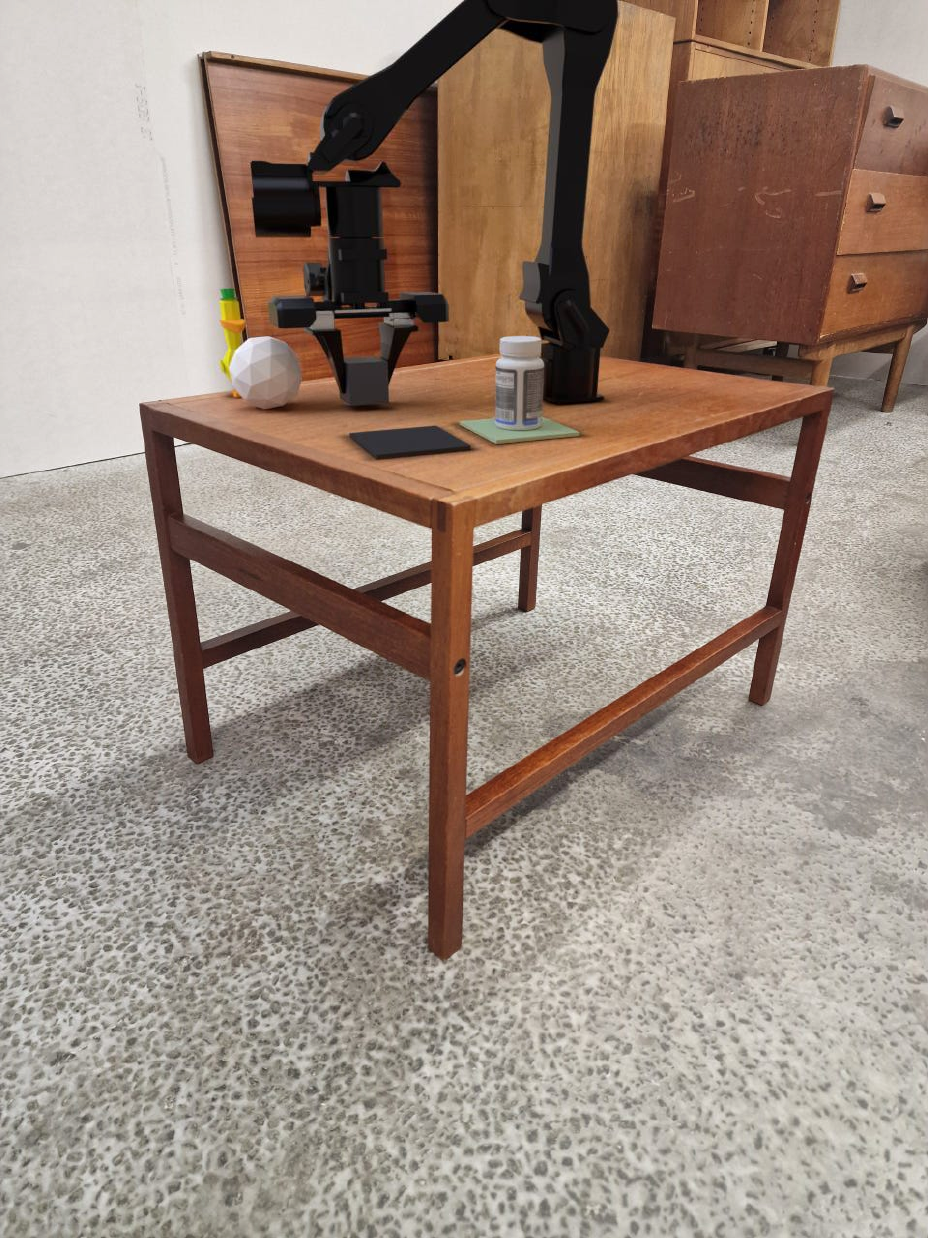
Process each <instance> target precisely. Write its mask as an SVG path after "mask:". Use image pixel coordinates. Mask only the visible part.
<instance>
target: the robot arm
mask: <svg viewBox="0 0 928 1238" xmlns="http://www.w3.org/2000/svg"><path fill="white" fill-rule="evenodd" d="M618 18H619V2H618V0H462V1H461V2H460V3H459V4H458V5H457V6H456V7H455V8H453V9H452V10H451V11H450V12H449V13H448V14H447V15H445V17H443V18H441V20H440V21H439V22H438V23H436V25H434V26H433V27H432V28H431V29H430V30H429V31H427V32H426V33H425V34H424V35H423V36H422V37H421V38H419V40H417V41H416V42H415V43H414V44H413V45H412V46H411V47H410V48H408V49H407V50H406V51H405V52H404V53H402V55H401V56H399V57H398V58H397V59H396V60H395V61H394V62H393V63H392V64H390V65H388V66H386V67H384V68H383V69H381V70H379V71H377V72H375V73H373V74H371V75H369V76H368V77H366V78H364V79H361V80H360V81H358V82H357V83H355V84H353V85H351V86H350V87H348V88H347V89H345V90H343V91H341V92H340V93H338V94H336V95H335V96H334V97H333V98H331V100H330V101H329V103H328V104H326V105H327V106H326V107H325V110H324V111H322V115H321V117H320V121H319V131H318V132H319V135H320V136H319V137H320V140H319V143H317V146H316V148H315V149H314V151H309V153H308V154H307V157H306V158H307V162H306V163H281V162H280V163H279V162H278V163H276V162H275V163H274V162H269V161H266V160H251V161H250V163H249V165H250V176H251V184H252V185H251V186H252V193H253V196H251V204H252V214H253V215H252V216H253V225H254V234H255V235H254V236H255V238H256V239H257V238H258V239H259V238H260V239H261V238H264V239H265V238H266V239H267V238H270V239H271V238H273V239H275V238H280V239H281V238H283V239H285V238H286V239H288V238H291V239H292V238H302V239H304V238H305V239H306V238H308V239H310V238H312V228H321V227H322V207H321V206H322V205H321V195H320V194H321V193H320V189H324V192H325V195H324V196H325V208H326V223H327V237H328V238H327V240H328V242H327V243H328V248H327V254H326V256H327V263H326V266H325V267H323V264H322V263H321V262H304V263H303V265H302V275H303V286H304V293H305V294H293V295H292V294H291V295H289V294H288V295H272V296H271V297H270V299H269V300H268V302H267V312H268V323H269V325H272V326H274V327H276V328H277V329H302V330H303V332H305V333H307V334H309V335H311V336H314V337H315V339H316V340H317V342H318V344H319V345H320V347H321V349H322V351H323V353H324V355H325V357H326V359H327V362H328V365H329V367H330V370H331V373H332V375H333V377H334V380H335V383H336V385H337V388H338V391H339V390H340V392H341V393H342V394H344V393H345V392H346V375H345V365H344V358H345V355H344V347H343V337H342V330H341V329H339V328H337V327H336V324H335V322H336V321H335V320H349V319H350V320H351V319H352V320H353V319H371V318H372V319H374V318H375V319H376V318H377V319H378V318H383V321H379V322H378V321H377V324H378V329H379V330H378V331H379V335H380V356H379V358H381V359H383V360H386V361H387V362H388V387H389V386H390V383H391V381H392V377H393V375H394V372H395V369H396V366H397V364H398V361H399V359H400V356H401V354H402V351H403V350H404V347H405V345H406V343H407V341H408V340H409V338H410V335H411V334H412V333H415V332H419V325H416V324H415V320H416V318H417V319H418V320H419V321H420V322H421V323H424V324H426V323H427V324H428V323H429V324H430V323H447V322H450V313H449V311H450V309H449V308H450V305H449V302H448V299H447V298H446V296H444V294H442V293H438V292H433V291H407V292H405V291H404V292H403V291H402V292H400V294H399V298H396V299H394V298H393V299H389V298H390V297H389V291H387V290H386V271H385V269H386V268H385V261H387V260H388V249H387V248H385V243H384V242H385V241H384V219H383V218H384V217H383V216H384V215H383V214H384V213H383V192H382V190H395V189H399V188H400V187H401V186H402V181H401V180H400V178H398V177H397V176H396V175H395V174H394V173H393V171H391V169H390V168H389V166H388V164H387V162H386V161H381V162H379V163H378V165H377V166H376V168H375V169H346V172H345V180H314V176H327V174H329V173H330V172H331V171H332V170H333V169H334V168H336V167H337V166H338V165H340V164H345V165H356V164H359V163H361V162H363V161H365V160H366V159H368V158H369V157H370V156H372V155H373V154H375V152H376V151H377V150H378V149H379V148H380V147H381V145H382V144H383V142H384V141H385V140H386V138H387V137H388V136H389V134H390V133H391V132H392V131H393V129H394V128H395V127H396V125H397V124H398V122H400V120H401V119H402V117H403V116H404V114H405V113H406V112H407V110H408V109H409V108H410V107H411V106H412V104H413V103H414V101H415V100H416V99H418V98H419V97H420V96H421V95H422V94H423V93H424V92H425V91H427V90H428V89H429V88H430V87H431V86H433V84H435V83H436V81H437V82H438V80H439V79H440V78H441V77H442V76H444V75H445V74H446V73H447V72H448V71H449V70H450V69H451V68H453V67H454V66H455V65H456V64H458V62H460V61H461V60H463V58H464V57H465V56H466V55H467V54H468V53H470V52H471V51H472V50H474V48H475V47H476V46H478V44H480V43H481V42H482V41H483V40H485V38H487V37H488V36H489V35H490V34H491V33H492V32H493V31H495V30H500V31H504V32H506V33H508V34H510V35H513V36H515V37H518V38H520V39H522V40H525V41H527V42H531V43H534V44H539V45H541V46H542V47H541V48H542V59H543V60H542V61H543V67H544V70H545V75H546V79H547V82H548V86H549V90H550V108H549V111H550V112H549V122H548V123H549V125H548V138H547V139H548V140H547V151H546V152H547V154H546V167H545V168H546V169H545V182H544V184H545V185H544V198H543V199H544V200H543V213H542V228H541V240H540V241H541V242H540V246H539V249H538V252H537V254H536V256H535V259H534V261H527V260H523V261H522V264H521V272H522V288H521V291H520V295H519V296H518V299H519V300H521V301H524V302H523V303H524V311H525V314H526V316H527V317H528V318H529V321H531V322H532V323H533V324H534V325H536V326H537V330H538V333H539V338H541V341H544V343H543V342H541V351H540V352H541V354H540V356H539V358H540V359H542V360H543V362H544V383H543V400H546V401H548V402H551V403H554V404H571V403H581V402H582V403H584V402H595V401H605V395H604V394H600V393H598V390H599V378H600V377H599V376H600V364H601V363H600V362H601V349H603V348H604V346H605V344H606V341H607V339H608V336H609V333H610V328H609V327H608V325H607V324H606V323H605V321H603V319H602V318H601V317H600V316H599V315H598V314H597V312H596V311H595V310H594V309H593V308H592V300H591V299H592V298H591V284H590V281H591V280H590V273H589V272H590V271H589V268H588V264H587V261H586V257H585V252H584V248H583V238H584V237H583V236H584V227H585V215H586V203H587V191H588V181H589V168H590V157H591V156H590V155H591V146H592V133H593V121H594V111H595V100H596V93H597V89H598V86H599V83H600V81H601V78H602V75H603V73H604V70H605V68H606V65H607V62H608V60H609V58H610V55H611V51H612V45H613V41H614V37H615V34H616V29H617V24H618V20H619V19H618ZM314 297H321V300H322V301H315V299H314ZM366 304H376V305H366ZM545 341H546V342H545Z"/></svg>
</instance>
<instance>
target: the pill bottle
mask: <svg viewBox="0 0 928 1238" xmlns="http://www.w3.org/2000/svg"><path fill="white" fill-rule="evenodd" d="M541 344H542V339H541V337H540V336H539V337H538V336H532V335H512V336H511V335H510V336H504V337H501V338H500V339H499V354H500V355H501V357H499V358H498V359H497V361H496V362H495V378H494V379H495V381H494V383H495V388H494V389H495V393H494V396H495V397H494V398H495V399H494V404H495V405H494V407H495V408H494V418H495V424H496V426H497V427H499V428H501V429H506V430H533V429H537V428H539V427H540V426H541V425H542V417H543V410H544V409H543V407H544V404H543V403H544V399H543V383H544V362H543V360H542V359H540V358H539V357H540V356H539V355H541Z"/></svg>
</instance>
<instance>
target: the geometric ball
mask: <svg viewBox="0 0 928 1238" xmlns="http://www.w3.org/2000/svg"><path fill="white" fill-rule="evenodd" d="M229 370H230V375H231V380H232V382H231V384H232V388H233V390H234V389H235V390H236V391H237V393H238V394H239V395H240V396H241V397H240V398H242V400H244V402H245V403H246V404H248V405H250V406H253V407H256V408H258V409H262V410H265V411H266V410H270V409H276V408H280V407H284V406H285V405H286V404H287V403H289V402H290V401H291V400H292V399H293V398H295V397H296V396H297V395H298V393H299V390H300V388H301V387H300V386H301V384H302V382H303V372H302V367H301V361H300V357H299V356H298V355H297V354H296V353H295V351H293V349H292V348H291V347H290V346H289V344H288V343H287V342H286V341H283V340H281V339H278V338H275V337H272V336H269V335H266V336H265V335H264V336H256V337H249V338H248V339H246V340H245V341H244V342H243V343H241V346H240V347H239V348H238V349H237V350H236V351H235V352H234V355H233V358H232V361H231V363H230V366H229Z"/></svg>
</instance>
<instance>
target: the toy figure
mask: <svg viewBox="0 0 928 1238" xmlns="http://www.w3.org/2000/svg"><path fill="white" fill-rule="evenodd" d="M219 290H220V293H221V296H222V297H220V298H219V300H220V301H219V311H220V317H221V319H219V323H220V326H222V329H223V334H224V338H225V342H226V346H227V351H226V352H225V354H224V356H223V358H222V360H221V359H220V360H219V366H220V367H219V368H220V370H221V372H222V373H224V374H225V376H226V378H227V379H228V380H229V381H230V382H231V383H232V380H231V375H230V370H229V366H230V363H231V361H232V358H233V355H234V352H235V351H236V350H237V349H238V348H239V347H240V346H241V345H242V333H243V331H244V330H245V328H246V325H247V323H246V319H243V318H241V312H240V302H239V301H238V299H239V297H235V288H220V289H219ZM232 397H233V398H242V397H241V396H240V395H239V394H238V393H237V391H236V390H235V389H234V388H233V390H232Z"/></svg>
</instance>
